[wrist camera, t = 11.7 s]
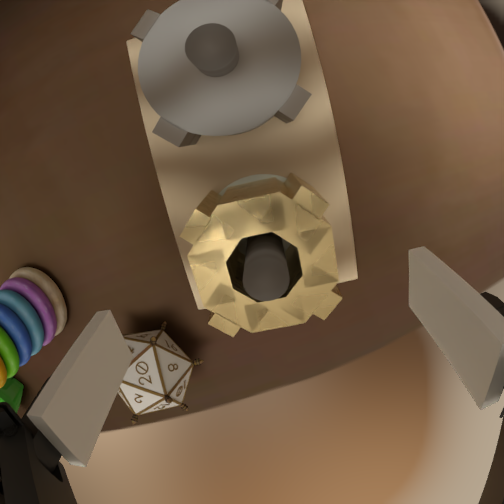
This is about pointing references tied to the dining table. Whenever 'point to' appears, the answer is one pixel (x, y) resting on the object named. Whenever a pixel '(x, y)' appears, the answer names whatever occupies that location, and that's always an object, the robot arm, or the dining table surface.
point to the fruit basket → (12, 393)
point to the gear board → (259, 155)
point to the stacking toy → (27, 318)
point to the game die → (155, 373)
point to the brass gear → (232, 261)
